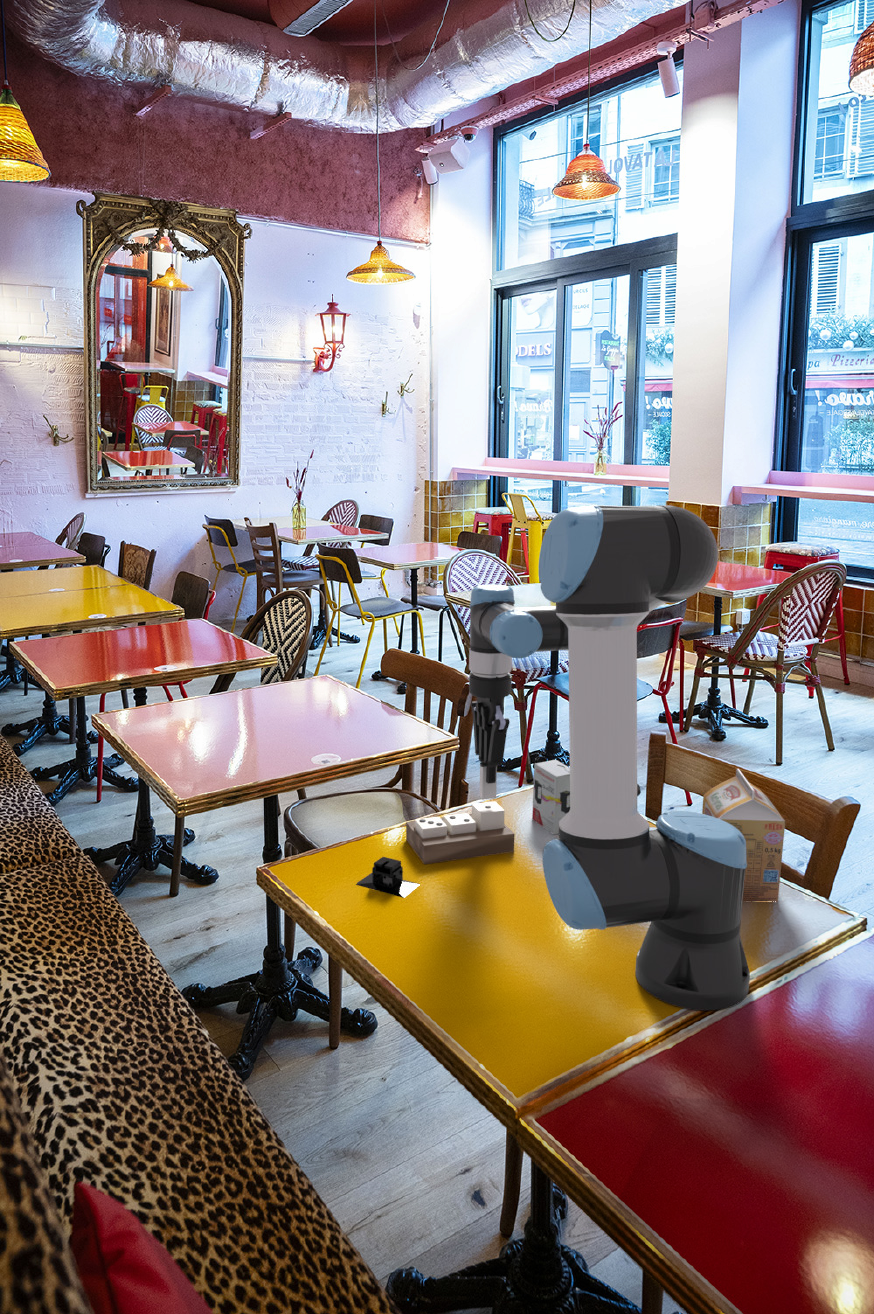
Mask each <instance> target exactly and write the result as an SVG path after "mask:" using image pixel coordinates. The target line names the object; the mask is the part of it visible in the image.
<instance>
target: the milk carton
mask: <svg viewBox="0 0 874 1314" xmlns="http://www.w3.org/2000/svg"><path fill="white" fill-rule="evenodd" d="M701 814H705V815H709V816H712V817H715V818H718V819H720V820H723V821H725V822H727V823H729V824H731V825H732V826H734V827H735V828H737V829H738V830H739V831H740V832H741V833H742V835H743V836H744V838H745V841H746V862H747V867H746V868H745V877H744V889H743V900H742V901H745V902H746V901H751V902H750V903H753V902H752V901H772V902H773V901H774V902H775V901H776V902H779V895H780V894H779V893H780V883H781V870H782V863H783V862H782V861H783V850H784V849H783V848H784V841H785V840H784V839H785V831H786V830H785V829H786V820H785V819H784V817H783V816H782V815H781V814H780V812H779V811H778V809H777V808H776V806H775V805H774V804H773V803H772V801H771V799H769V797H768V796H767V795H766V794H765V793H764V792H763V791H762V790H761V789H760V788H759V787H757V786H755V785H754V784H753V783H751V782H749V780H748V779H747V778H746V777H745V776H744V773H742V771H741V770H740V769H739V768H736V771H735V776H733V777H730V778H729V779H726V780H724V781H722V782H720V783H719V784H716V785H715V786H713V787H712V788H710V789H709V790H708V791H706V792H705V793H703V798H702V812H701ZM745 902H744V903H745ZM746 903H747V902H746Z"/></svg>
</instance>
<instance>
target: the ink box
mask: <svg viewBox="0 0 874 1314" xmlns="http://www.w3.org/2000/svg"><path fill="white" fill-rule="evenodd" d="M533 771H534V772H533V788H532V789H533V794H532V813H531V814H532V815H531V816H532V817H531V819H532V820H533V821H534V822H536V823H537V824H538V825H540V826H541V827H543V828H544V829H545V830H547V831H549V832H550V833H551V834H553V835H559V821H560V820H561V819H562V818H563V817H564V816H565V815H566V814H567V813H568V812H569V811H570V766H568V765H565V764H564V763H563V762H560V761H559V760H557V759H552V760H548V761H542V762H537V763H536V762H535V763H534V766H533Z"/></svg>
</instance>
